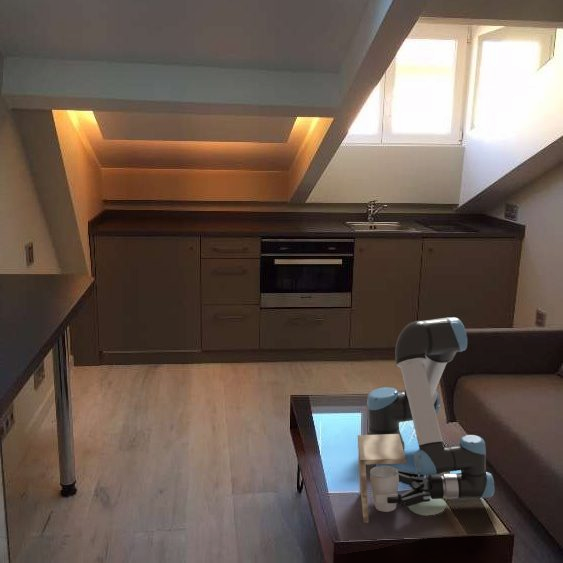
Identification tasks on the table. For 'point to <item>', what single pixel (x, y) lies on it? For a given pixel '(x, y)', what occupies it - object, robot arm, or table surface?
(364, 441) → the shelf
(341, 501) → the table surface
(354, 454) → the table surface
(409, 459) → the table surface
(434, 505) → the mat
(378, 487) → the cup
